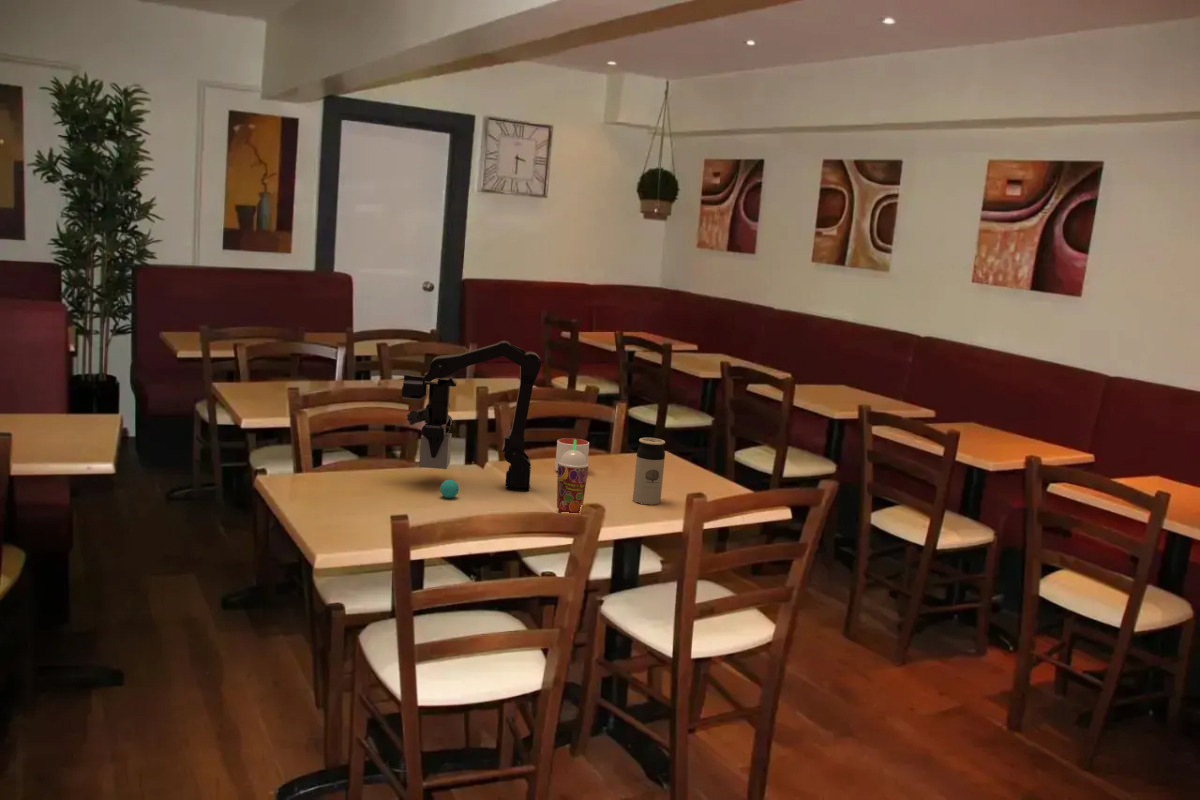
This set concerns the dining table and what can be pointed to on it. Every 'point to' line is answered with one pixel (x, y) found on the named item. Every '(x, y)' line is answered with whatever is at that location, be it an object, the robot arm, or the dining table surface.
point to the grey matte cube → (442, 456)
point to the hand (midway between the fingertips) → (435, 454)
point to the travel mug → (649, 471)
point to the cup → (570, 447)
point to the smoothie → (571, 480)
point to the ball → (449, 488)
